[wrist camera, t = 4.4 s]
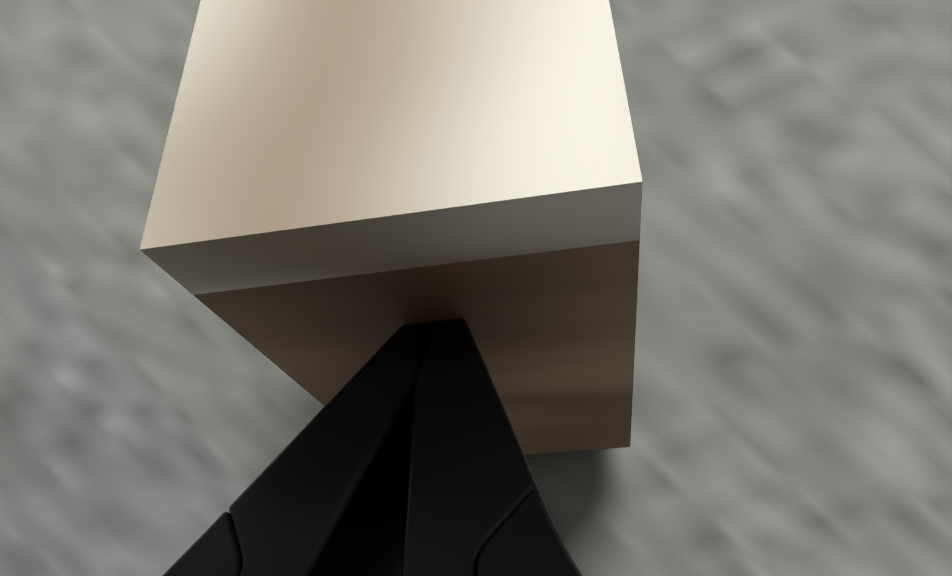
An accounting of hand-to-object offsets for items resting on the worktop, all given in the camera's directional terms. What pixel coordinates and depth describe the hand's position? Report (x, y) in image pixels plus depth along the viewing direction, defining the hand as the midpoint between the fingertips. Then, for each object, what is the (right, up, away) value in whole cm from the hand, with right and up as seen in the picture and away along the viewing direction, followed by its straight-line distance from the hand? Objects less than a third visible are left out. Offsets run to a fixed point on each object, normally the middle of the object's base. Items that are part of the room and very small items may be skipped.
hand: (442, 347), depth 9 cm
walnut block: (+1, -1, +7) cm, 7 cm away
